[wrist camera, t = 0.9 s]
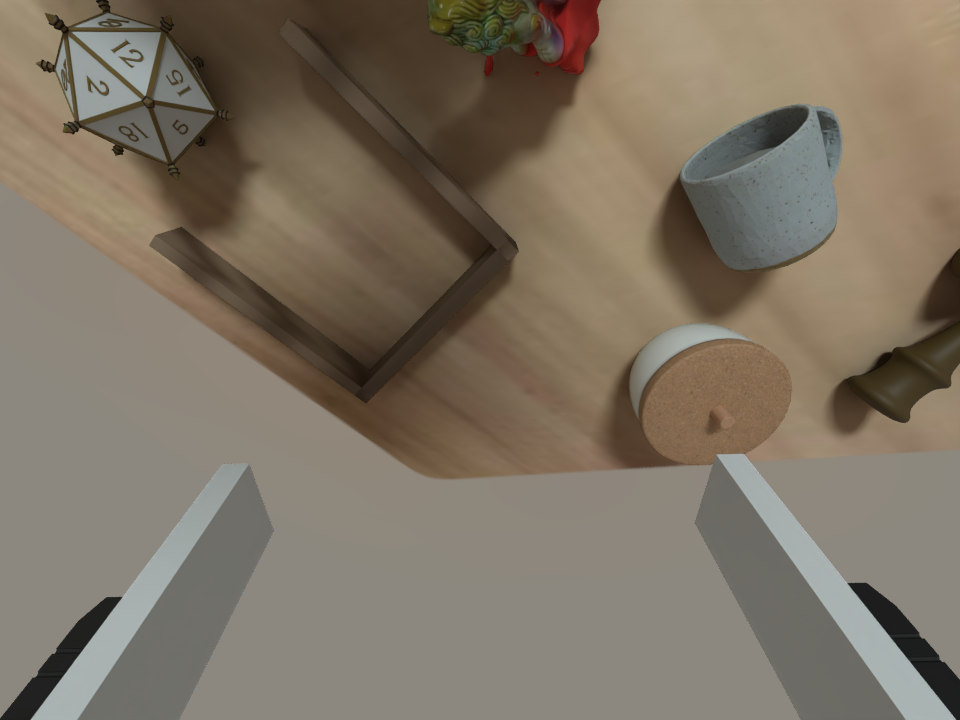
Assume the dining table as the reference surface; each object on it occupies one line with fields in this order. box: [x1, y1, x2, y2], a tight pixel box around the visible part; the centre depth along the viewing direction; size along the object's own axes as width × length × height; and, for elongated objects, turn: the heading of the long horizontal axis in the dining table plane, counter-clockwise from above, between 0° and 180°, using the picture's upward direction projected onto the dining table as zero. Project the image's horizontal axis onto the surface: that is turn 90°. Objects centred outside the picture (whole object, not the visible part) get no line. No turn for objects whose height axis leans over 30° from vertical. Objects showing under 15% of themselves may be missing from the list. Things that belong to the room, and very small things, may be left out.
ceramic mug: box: [680, 104, 842, 273], centre depth 28 cm, size 11×8×8 cm
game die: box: [36, 0, 234, 180], centre depth 26 cm, size 9×8×10 cm
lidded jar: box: [629, 323, 792, 465], centre depth 34 cm, size 11×11×9 cm
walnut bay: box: [149, 18, 519, 403], centre depth 32 cm, size 19×18×3 cm
